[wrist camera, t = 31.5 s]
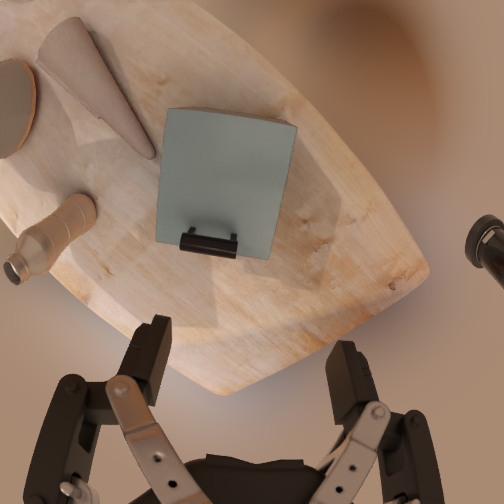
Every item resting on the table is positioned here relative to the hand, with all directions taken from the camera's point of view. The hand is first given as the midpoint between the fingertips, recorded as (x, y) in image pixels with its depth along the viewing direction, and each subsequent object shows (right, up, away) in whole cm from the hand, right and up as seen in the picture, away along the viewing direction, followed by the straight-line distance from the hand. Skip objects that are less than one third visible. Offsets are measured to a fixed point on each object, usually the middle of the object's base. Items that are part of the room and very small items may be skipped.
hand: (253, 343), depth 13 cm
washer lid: (-3, +11, +16) cm, 20 cm away
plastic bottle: (-28, +12, +29) cm, 42 cm away
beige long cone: (-20, +29, +19) cm, 40 cm away
